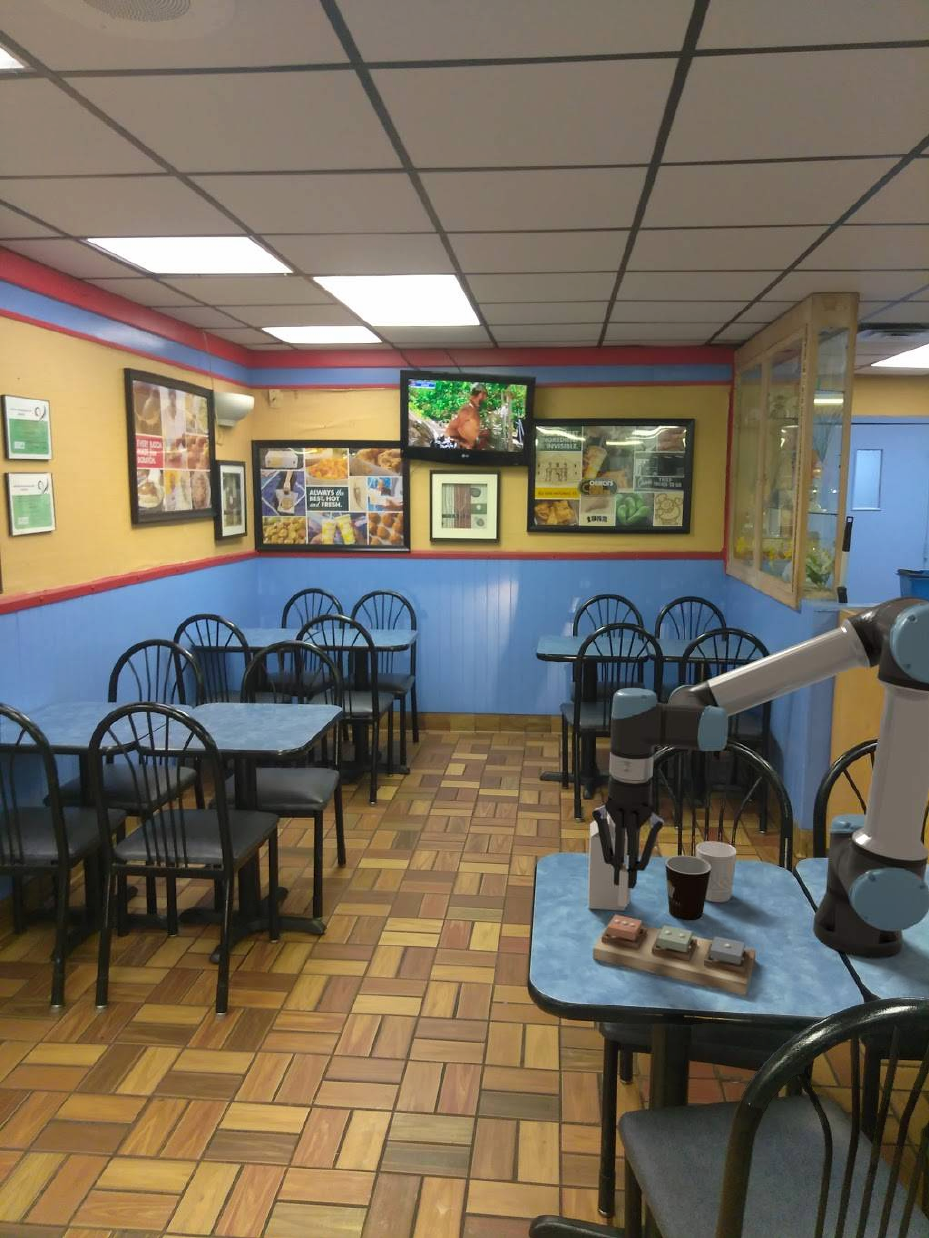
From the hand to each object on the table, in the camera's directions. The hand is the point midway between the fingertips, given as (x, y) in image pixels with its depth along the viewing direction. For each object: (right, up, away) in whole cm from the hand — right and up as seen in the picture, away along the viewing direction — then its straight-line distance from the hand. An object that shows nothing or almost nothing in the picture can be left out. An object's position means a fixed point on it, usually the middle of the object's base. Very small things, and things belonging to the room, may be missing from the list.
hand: (624, 902), depth 158 cm
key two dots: (+8, -6, -3) cm, 11 cm away
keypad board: (+8, -9, -3) cm, 13 cm away
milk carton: (0, -6, +19) cm, 20 cm away
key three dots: (0, -5, +1) cm, 5 cm away
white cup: (+23, -6, +23) cm, 32 cm away
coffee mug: (+15, -7, +16) cm, 23 cm away
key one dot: (+17, -7, -7) cm, 19 cm away
